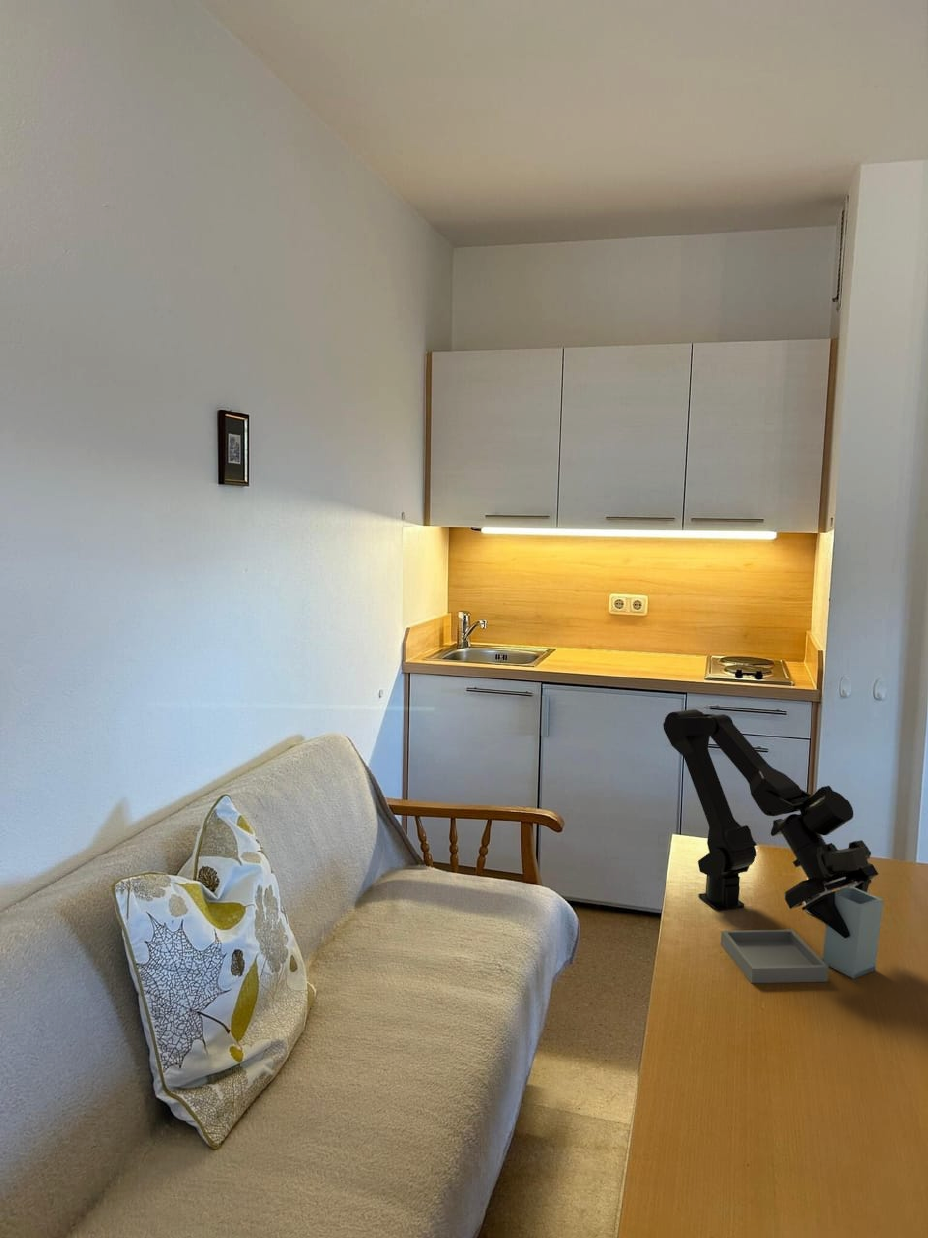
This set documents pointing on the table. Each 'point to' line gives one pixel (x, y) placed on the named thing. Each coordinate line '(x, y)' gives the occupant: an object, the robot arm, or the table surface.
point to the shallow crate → (774, 956)
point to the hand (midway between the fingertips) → (859, 933)
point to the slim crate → (854, 933)
